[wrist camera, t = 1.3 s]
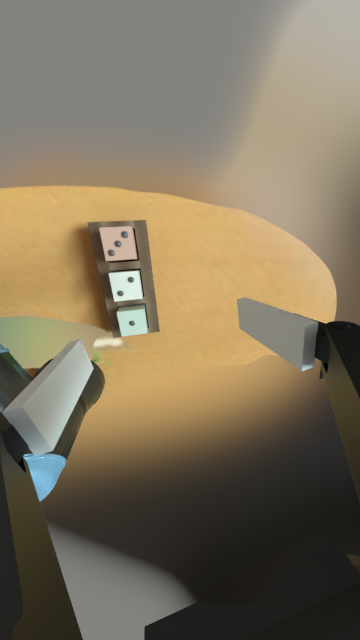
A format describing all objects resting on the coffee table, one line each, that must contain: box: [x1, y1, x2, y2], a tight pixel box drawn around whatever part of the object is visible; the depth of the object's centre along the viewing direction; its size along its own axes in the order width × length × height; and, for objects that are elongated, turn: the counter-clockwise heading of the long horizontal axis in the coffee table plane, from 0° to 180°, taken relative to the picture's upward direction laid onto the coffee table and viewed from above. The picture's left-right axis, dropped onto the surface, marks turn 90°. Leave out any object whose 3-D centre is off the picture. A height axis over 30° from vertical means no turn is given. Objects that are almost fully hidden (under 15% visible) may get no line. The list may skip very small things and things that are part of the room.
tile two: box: [109, 270, 143, 302], centre depth 32 cm, size 5×5×5 cm
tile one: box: [117, 303, 148, 337], centre depth 35 cm, size 5×5×5 cm
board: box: [88, 220, 160, 338], centre depth 35 cm, size 10×22×4 cm, turn 4°
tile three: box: [99, 226, 138, 261], centre depth 30 cm, size 5×5×5 cm
